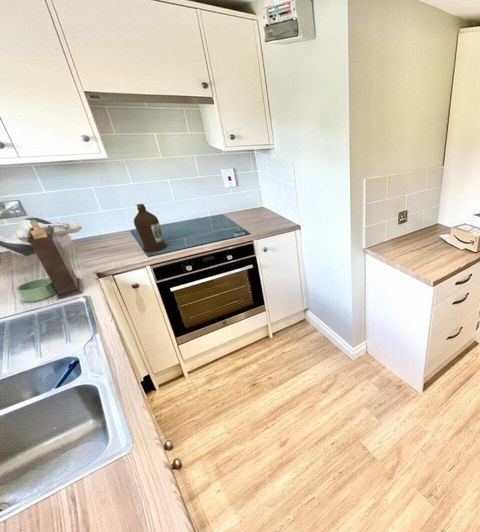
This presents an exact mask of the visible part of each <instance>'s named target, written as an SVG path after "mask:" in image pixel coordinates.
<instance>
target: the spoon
mask: <svg viewBox="0 0 480 532" xmlns="http://www.w3.org/2000/svg"><path fill="white" fill-rule="evenodd" d="M30 223H31V225H32V228H33V230H34V231H31V233H32V235H33V237H34V239H39V238H44V237H48V236H47V234H46V232H45V230H44V229H40V227H39V225H38V222H37V221H36V220H31V221H30Z"/></svg>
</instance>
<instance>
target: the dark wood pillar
mask: <svg viewBox="0 0 480 532" xmlns="http://www.w3.org/2000/svg"><path fill="white" fill-rule="evenodd" d="M44 230H45V232H46V234H47V236H48V237H44V238H39V239H34V237H33V235H32V233H31V231H34V230H33V228H30V230H29V233H28V237H27V242H28V243H31V245H32V247H33V249H34V251H35V252H36V253H35V254H36V256H37V258H38V260H39V262H40V263H41V265H42V267H43V269H44V271H45V272H46V274H47V276H48V278H50V280H51V281H52V283H53V285H54V287H55V289H56V290H57V295H56V296H57V299H58V300H60V299H64V298H68V297H72V296H77V295H79V294H82V284H81V279H80V277H78V276H77V274H76V272H75V271H74V268H73V267H72V265H71V262H70V261H69V259H68V257H67V255H66V253H65V251H64V248H63V247H61V245H60V243H59V241H58V239H57V237H56V235H55V233H54V228H53V227H51V225H48V228H45V229H44Z"/></svg>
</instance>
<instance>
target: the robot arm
mask: <svg viewBox="0 0 480 532" xmlns="http://www.w3.org/2000/svg"><path fill="white" fill-rule="evenodd" d="M31 220H36V221H37V222H38V225H39V227H40V229H45V228H48V225H51V227H53V228H54V233H55V235H56V237H57V239H58V241H59V243H60V245H61V247H62V248H65V247H67V246H69V245H70V244H71V242H72V236H71V234H75V233H78V232H80V231H81V230H83V227H82V226H81V225H79V223H78V221H67V222H62V221H61V222H57V223H52V222H51V221H48V220H45V219H42V218H38V217H25V218H23V219H22V220H21V221H20V223H19V224H18V225H17V227H16V229H15V230H14V232H13V233H12V234H11V236H10V237H9V238H6V237H4V236H2V235H0V247H1V248H3V249H5V250H7V251H9V252H10V253H12V254H14V255H16V256H17V255H18V256H21V257H30V256H34V255H35V254H36V252H35V251H34V249H33V247H32V245H31V243H28V242H27V237H28V233H29V230H30V228H32V225H31V223H30V221H31Z"/></svg>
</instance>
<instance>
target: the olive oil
mask: <svg viewBox="0 0 480 532" xmlns="http://www.w3.org/2000/svg"><path fill="white" fill-rule="evenodd" d="M136 208H137V211H138V212H137V214H136V215H135V217H134V219H133V225H134V228H135V230H136V231H137V234H138V236H139V238H140V240H141V243H142V245H143V248H144V250H145V251H146V252H156V251H161V250H163V249H164V248H166V247H167V246H166V242H165V237H164V236H163V235H164V234H163V232H162V229H161V224H160V220H159V218H158V217H157V216H156V215H155V214H153V213H151V212H150V211H148V210H147V208H146V206H145V204H144V203H138V204H136Z"/></svg>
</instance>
